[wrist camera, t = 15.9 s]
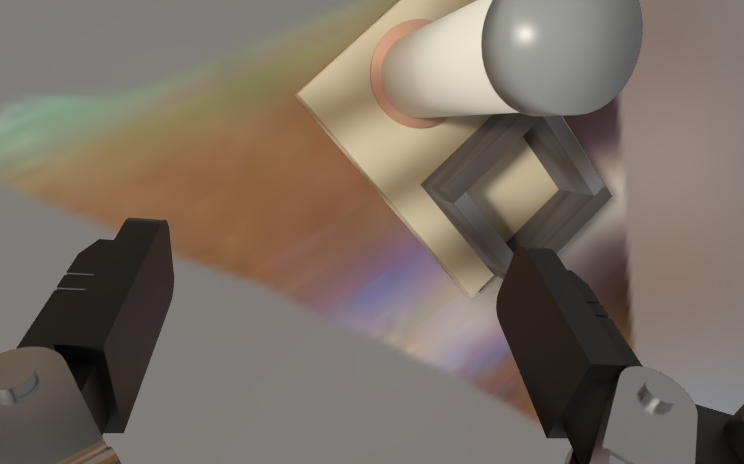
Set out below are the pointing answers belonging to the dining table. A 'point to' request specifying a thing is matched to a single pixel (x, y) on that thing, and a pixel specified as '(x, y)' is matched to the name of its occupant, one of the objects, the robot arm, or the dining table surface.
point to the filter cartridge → (515, 59)
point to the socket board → (455, 160)
